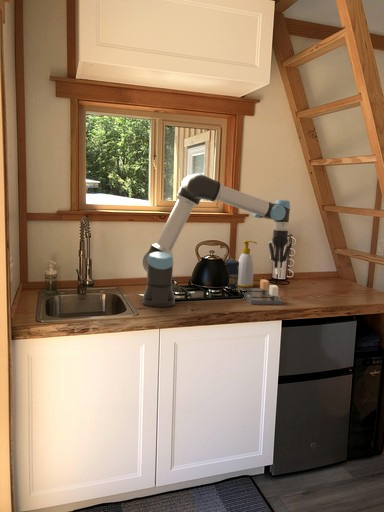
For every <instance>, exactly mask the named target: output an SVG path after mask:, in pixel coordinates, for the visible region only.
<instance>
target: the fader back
mask: <svg viewBox="0 0 384 512" xmlns="http://www.w3.org/2000/svg"><path fill="white" fill-rule="evenodd" d="M269 285H270V281H268V280H267V279H260V283H259V288H261V289H263V291H265V290H268V289H269Z"/></svg>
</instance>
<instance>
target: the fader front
mask: <svg viewBox="0 0 384 512" xmlns="http://www.w3.org/2000/svg"><path fill="white" fill-rule="evenodd" d="M268 289H269V294H270V295H272V297H275V296H279V287H278V285H276V284H269V287H268Z"/></svg>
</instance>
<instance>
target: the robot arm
mask: <svg viewBox="0 0 384 512" xmlns="http://www.w3.org/2000/svg"><path fill="white" fill-rule="evenodd" d="M176 197H177V200H176V203H175V204H174V207H173V208H172V210H171V212H170V214H169V216H168V218H167V220H166V222H165V224H164V226H163V228H162V231H161V232H160V235H159V236H158V239H157V241H156V242H155V243H152V244H151V245H150V248H149V250H148V251H147V252H146V253H145V254H144V256H143V258H142V267H143V269H144V270H145V272H146V273H147V276H146V288H145V291H144V294H143V296H142V304H143V305H145V306H147V307H148V306H149V307H154V308H167V307H173V306H174V305H175V303H176V301H175V300H176V298H175V294H174V291H173V286H172V285H173V267H174V256H173V248H174V247H175V245H176V243H177V241H178V239H179V237H180V235H181V233H182V230H183V229H184V227H185V225H186V223H187V221H188V219H189V217H190V215H191V213H192V211H193V209H194V208H196V207H198V206H199V204H200V202H201V200H206V201H210V202H213V203H214V202H215V201H217V202H219V203H223V204H225V205H229V206H231V207H234V208H236V209H240V210H242V211H245V212H246V211H247V212H250V213H252V215H253V217H254V218H257V219H266V220H273V229H274V230H273V232H272V233H273V235H272V240H271V241H269V242H267V245H268V247H269V254H270V258H271V260H272V261H273V262H274V264H273V265H274V268H275V272H274V273H275V274H276V275H281V269H282V267H283V262H286V261H287V258H288V255H289V252H290V248H291V247H292V246H293V243H291V242H290V241H289V239H288V236H289V231H288V230H289V223H290V222H289V221H290V212H291V202H290V200H285V199H284V200H283V199H277V200H275V202H274V203H273V202H272V201H271V202H270V201H267V200H264V199H262V198H259V197H256V196H254V195H252V194H247V193H245V192H242V191H239V190H238V189H237V190H236V189H235V188H234V189H233V188H230V187H228V186H225V185H223V184H222V183H221V181H218V180H215V179H213V178H211V177H208V176H207V175H205V174H200V173H196V174H195V173H191V174H188V175H186V176H184V177H183V178H182V180H181V182H180V185H179V190H178V191H177V193H176Z"/></svg>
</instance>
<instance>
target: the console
mask: <svg viewBox="0 0 384 512" xmlns="http://www.w3.org/2000/svg"><path fill="white" fill-rule="evenodd" d="M238 289H239V290H241V291H243V290H246V291H247V292H245V293H244V292H242V293H243V295H244V297H245V298H244V297H243V298H244V299H245V301H247V302H248V303H249V304H250V305H269V306H270V305H273V306H274V305H275V306H276V305H277V306H279V305H280V306H282V305H283V302H284V301H283V300H282V299H281V297H280V295H278V296H275V297H272V295H270V294H269V288H268V290H265V291H263V289H261V288H260V287H259V288H253V287H238ZM238 289H237V290H238Z"/></svg>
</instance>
